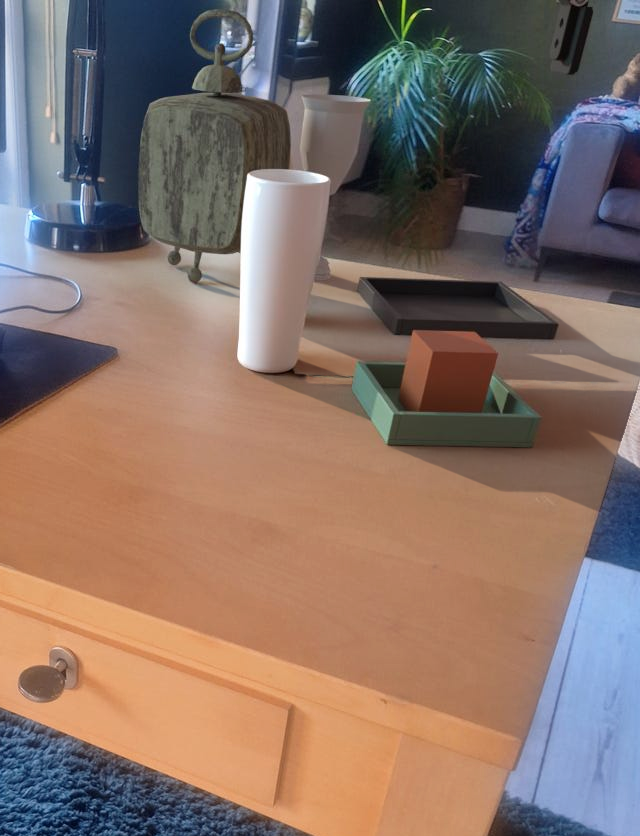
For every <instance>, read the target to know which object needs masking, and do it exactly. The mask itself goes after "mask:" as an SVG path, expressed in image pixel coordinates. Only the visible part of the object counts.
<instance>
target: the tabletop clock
mask: <svg viewBox="0 0 640 836" xmlns="http://www.w3.org/2000/svg"><path fill="white" fill-rule="evenodd" d="M213 18H226V19H230V20H233V21H236V22H238V23H240V24H241V25H242V26H243V28H244V29H245V31H246V33H247V38H248V41H247V44H246V46H245V47H244V48H242V49H241V50H239V51H235V52H232V53H226V48H227V47H226V46H225V44H223V43H221V42H219V43H217V44H215V47H214V51H209V50H207V49H204V48H202V47H201V46H200V45H199V44H198V43H197V41H196V37H195V34H196V31H197V29H198V28H199V26H200V25H201V24H202V23H203V22H205V21H206V20H209V19H213ZM189 40H190V43H191V47H192V48H193V50H194V51H195V52H196V53H197V55H199V56H201V57H202V58H204V59H206V60H209V61H212V62H213V64H209V65H206V66H203V67H202V68H201V69H200V71H198V73H197V74H196V76H195V78H194V81H193V83H192V86H191V89H192V90H195V91H202V92H199V93H190V94H189V93H188V94H181V95H173V96H166V97H162V98H161V97H160V98H158V99H156V100H154V101H152V102H150V103H149V104H148V108H147V110H146V114H145V116H144V119H143V124H142V128H141V135H140V144H139V157H138V169H137V171H138V173H137V175H138V176H137V177H138V179H137V180H138V181H137V182H138V185H137V186H138V210H139V219H140V222H141V226H142V230H143V231H144V232H145V233H146V234H147V235H148V236H150V237H151V238H153V239H154V240H155V241H158V242H160V243H162V244H165V245H169V246H172V247H173V250H171V251H170V252H169V253H168V254H167V262H168V263H169V264H170V266H177V265H179V264H180V263H181V262H182V256H181V253H180V250H181V249H183V250H185V251H189V252H194V260H193V267H191V268H190V269H189V270H188V271H187V279H188V281H189V282H190V283H193V284H196V283H199V282H200V281H201V279H202V270H201V269H200V268H199V267H200V263H201V259H202V255H203V253H204V254H213V255H214V254H215V255H234V254H236V253H238V254H239V255H241V225H242V212H243V202H244V194H245V187H246V180H247V174H248V173H249V172H251V171H255V170H262V169H286V170H290V167H291V148H292V147H291V146H292V144H291V143H292V138H291V125H290V119H289V114H288V111H287V110H286V109H285V108H284V107H282V106H281V105H279V104H278V103H276V102H274V101H272V100H269V99H266V98H261V97H257V96H251V95H247V94H243V92H244V90H243V85H242V81H241V78H240V76H239V74H238V73H237V72H236V70H235V69H233V68H232V67H231V66H229V65H225V63H226V62H234V61H237V60H239V59H242V58H244V57H245V56H246V55H247V54H248V52H249V51H250V50H251V48H252V46H253V42H254V31H253V29H252V25H251V24H250V22H249V21H248V19H247V18H246V17H245V16H243V14H241V13H240V12H238V11H235V10H231V9H227V8H225V9H223V8H214V9H209V10H208V9H207V10H206V11H204V12H203V13H201V14H199V15H198V17H196V19H195V20H194V21H193V23H192V26H191V27H190V33H189ZM241 93H242V94H241Z"/></svg>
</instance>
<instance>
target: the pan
mask: <svg viewBox="0 0 640 836" xmlns="http://www.w3.org/2000/svg"><path fill="white" fill-rule="evenodd" d="M357 284H358V285H357V290H356V292H357V294H358V295H359V296H360V297H361V298H362V299H363V300H364V302H365V303H366V304H367V305H368V306H369V307H370V309H371V310H372V311H373V312H374V313H375V315H376V316H377V317H378V318H379V319H380V321H381V322H382V323H383V324H384V325H385V326H386V328H387V329H388V330H389V331H390V332H391V333H392V335H393V336H408V337H409V336H410V337H412V333H413V330H430V331H464V332H476V333H477V334H478V335H479V336H480V337H481V338H482V339H483V338H484V339H518V340H549V341H550V340H551V341H553V340H555V338H556V335H557V332H558V328H559V322H557V321H556V320H554V319H553V318H552V317H550V316H549V315H548V314H546V313H545V312H544V311H542V310H541V309H539V308H538V307H536V306H535V305H534V304H533V303H532V302H530V301H529V300H527V299H526V298H525V297H523V296H521V295H520V294H519V293H517V292H516V291H515V290H514V289H512V288H511V287H509V286H508V285H507V284H505V283H503V281H493V280H492V281H491V280H461V279H437V278H436V279H435V278H433V279H432V278H428V279H427V278H404V277H403V278H401V277H376V276H375V277H374V276H359V278H358V283H357Z"/></svg>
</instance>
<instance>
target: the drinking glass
mask: <svg viewBox="0 0 640 836" xmlns="http://www.w3.org/2000/svg"><path fill="white" fill-rule="evenodd" d="M330 186H331V180H330V178H328V177H327V176H324V175H321V174H317V173H312V172H306V171H304V170H298V169H289V170H286V169H262V170H255V171H251V172H249V173H248V174H247V180H246V187H245V194H244V202H243V212H242V225H241V254H240V258H239V259H240V261H239V262H240V263H239V267H240V268H239V274H240V275H239V279H240V280H239V317H238V318H239V322H238V343H237V352H236V353H237V354H236V355H237V361H238V362H239V364H240V365H241V366H242V367H244V368H246V369H248V370H251V371H252V372H253V371H254V372H258V373H265V374H281V373H285V372H289V371H291V370H292V369H293V368H295V366H296V365H297V364H298V360H299V354H300V348H301V347H300V346H301V340H302V337H303V332H304V328H305V322H306V318H307V313H308V309H309V304H310V300H311V296H312V292H313V291H312V290H313V287H314V282H315V280H314V278H315V274H316V270H317V265H318V261H319V257H320V255H321V254H320V252H321V253H322V247H323V243H324V238H325V235H324V233H325V234H326V226H327V219H328V212H329V205H330V197H331V195H330Z"/></svg>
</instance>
